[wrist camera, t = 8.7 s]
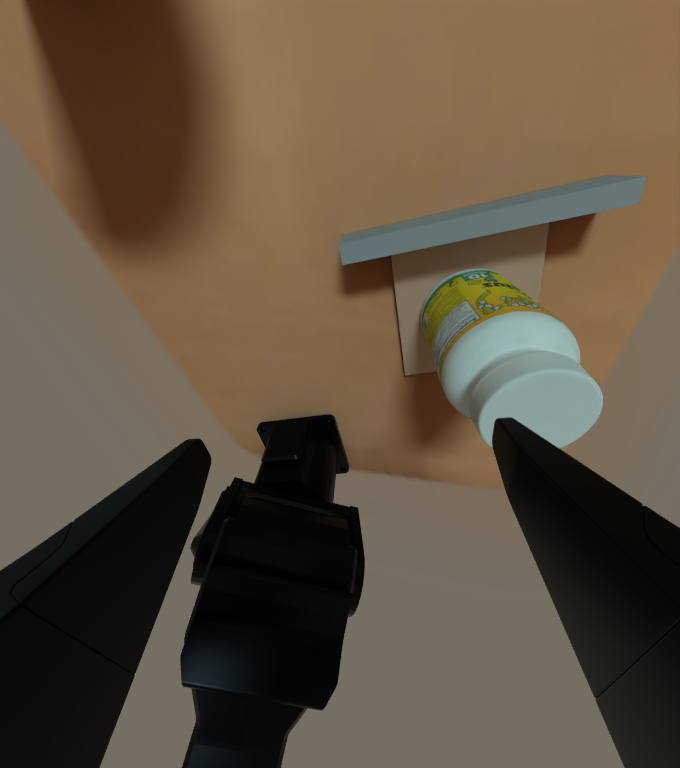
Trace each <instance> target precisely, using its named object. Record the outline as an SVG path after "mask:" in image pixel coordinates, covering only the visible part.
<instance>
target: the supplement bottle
mask: <svg viewBox="0 0 680 768" xmlns="http://www.w3.org/2000/svg"><path fill="white" fill-rule="evenodd" d="M421 327H422V331H423V334H424V337H425V340H426V343H427V346H428V349H429V351H430V354H431V357H432V360H433V363H434V366H435V368H436V371H437V374H438V377H439V380H440V383H441V385H442V388H443V391H444V393H445V395H446V397H447V399H448V401H449V402H450V403H451V405H452V406H453V407H454V408H455V409H456V410H457V411H459V412H460V413H461V414H463V415H464V416H466V417H468V418H470V419H472V420H473V422H474V423H475V426H476V428H477V430H478V432H479V434H480V436H481V437H482V439H483V440H484V441H485V442H486V443H487V444H488V445H489V446H490V447H492V448H493V446H492V435H493V429H494V422H495V420H496V419H497V418H504V417H512V418H514V419H515V420H517V421H518V422H520V423H522V424H523V425H525V426H526V427H528V428H529V429H531V430H532V431H534V432H535V433H537V434H538V435H540V436H541V437H543V438H544V439H546V440H547V441H549V442H550V443H552V444H553V445H555V446H556V447H558V448H562V447H564V446H566V445H568V444H570V443H571V442H573V441H575V440H577V439H578V438H579V437H581V436H582V435H583V434H584V433H586V432H587V431H588V430H589V429H590V428H591V426H592V425H593V424H594V423H595V422H596V420H597V418H598V417H599V415H600V413H601V409H602V405H603V395H602V392H601V390H600V388H599V386H598V384H597V383H596V382H595V381H594V380H593V378H592V377H591V376H590V375H589V374H588V373H587V372H586V371H585V370H584V369H583V368H582V366H581V365H580V351H579V347H578V344H577V341H576V339H575V337H574V336H573V334H572V333H571V331H570V330H569V329H568V328H567V327H566V326H565V325H564V324H563V323H562V322H561V321H560V320H559V319H557V318H556V317H554V316H553V315H552V314H551V313H549V312H548V311H547V310H545V309H544V308H543V307H541V306H540V305H539V304H538V303H536V302H535V301H534V300H533V299H532V298H530V297H529V296H528V295H527V294H525V293H524V292H523V291H522V290H520V289H519V288H518V287H516V286H515V285H514V284H513V283H511V282H510V281H509V280H508V279H507V278H505V277H503V276H502V275H501V274H499V273H497V272H495V271H492V270H488V269H470V270H464V271H460V272H456V273H454V274H452V275H450V276H448V277H446V278H445V279H443V280H442V281H441V282H439V283H438V284H437V285H436V286H435V287H434V288H433V290H432V291H431V292H430V294H429V295H428V297H427V298H426V300H425V303H424V305H423V309H422V313H421Z"/></svg>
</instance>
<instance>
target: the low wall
mask: <svg viewBox="0 0 680 768" xmlns="http://www.w3.org/2000/svg"><path fill="white" fill-rule="evenodd" d="M646 177H647V176H619V175H607V176H603V177H598V178H594V179H589V180H585V181H580V182H576V183H572V184H567V185H563V186H558V187H554V188H549V189H545V190H541V191H536V192H532V193H527V194H523V195H518V196H514V197H510V198H505V199H501V200H496V201H492V202H488V203H483V204H479V205H474V206H470V207H465V208H461V209H457V210H452V211H448V212H443V213H439V214H434V215H430V216H426V217H421V218H417V219H412V220H408V221H403V222H399V223H395V224H390V225H386V226H381V227H377V228H372V229H368V230H364V231H359V232H355V233H350V234H346V235H342V236H341V239H340V241H339V244H338V246H339V251H340V256H341V261H342V265H347V264H352V263H357V262H361V261H366V260H371V259H376V258H381V257H385V256H390V255H395V254H400V253H405V252H409V251H414V250H419V249H424V248H429V247H433V246H438V245H443V244H448V243H453V242H457V241H462V240H467V239H472V238H477V237H481V236H486V235H491V234H496V233H501V232H505V231H510V230H515V229H520V228H525V227H530V226H534V225H539V224H544V223H549V222H554V221H558V220H563V219H568V218H573V217H578V216H582V215H587V214H592V213H597V212H602V211H606V210H611V209H616V208H621V207H626V206H630V205H635V204H639V203H640V199H641V195H642V192H643V188H644V184H645V181H646Z"/></svg>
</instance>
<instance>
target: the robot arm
mask: <svg viewBox="0 0 680 768" xmlns="http://www.w3.org/2000/svg"><path fill="white" fill-rule="evenodd" d="M327 420H330V421H331V422H328V421H327ZM263 428H264V429H263ZM257 431H258V434H259V436H260V438H261V440H262V442H263V444H264V446H265V451H264V454H263V457H262V460H261V461H262V463H261V466H260V469H259V472H258V474H257V477H256V480H255V482H254V483H250V482H246V481H243V479H240V478H236V477H235V478H234V480H233V482H232V484H231V485H230V487H229V486H228V487H227V488H226V490H225V491H223V492H222V493H221V496H220V497H219V500H218V502H217V504H216V506H215V508H214V510H213V512H212V514H211V515H210V517H209V518H208V520H207V521H206V522H205V524H204V525H203V526H202V528H201V529H200V530H199V532H198V533H197V534H196V536H195V537H194V539H193V541H192V544H191V547H190V549H191V551H192V554H193V556H194V563H193V572H192V577H191V583H192V584H195V585H200V586H201V587H200V590H199V593H198V596H197V599H196V602H195V606H194V608H193V611H192V615H191V618H190V621H189V624H188V627H187V630H186V633H185V638H184V647H183V650H182V653H181V659H180V660H181V680H182V685H183V686H184V687H188V688H192V695H193V700H194V707H195V713H196V723H195V726H194V730H193V733H192V736H191V740H190V743H189V747H188V750H187V753H186V756H185V760H184V763H183V766H182V768H281V765H282V759H283V755H284V750H285V746H286V742H287V737H288V734H289V733H290V731H291V730H292V729H293V727H294V726H295V724H296V723H297V722H298V721H299V719H300V718H301V716H302V715H303V714H304V712H305V711H306V709H307V708H310V709H316V710H323V709H324V708H325V706H326V704H327V702H328V701H329V699H330V697H331V695H332V694H333V692H334V690H335V688H336V686H337V683H338V675H339V668H340V660H341V652H342V645H343V639H344V633H345V628H346V624H347V619H348V616H349V617H351V616H352V615H353V614H354V613H355V611H356V608H357V606H358V604H359V600H360V597H361V592H362V587H363V580H364V568H365V565H364V564H365V560H364V549H363V542H362V534H361V527H360V519H359V512H358V508H357V507H353V506H350V507H347V506H343V505H339V504H335V503H333V498H334V488H335V479H336V474H340V473H347V472H348V471H349V464H348V461H347V457H346V454H345V450H344V447H343V444H342V440H341V437H340V433H339V430H338V426H337V423H336V420H335V417H334V416H333V415H319V416H311V417H303V418H294V419H286V420H278V421H270V422H262V423H260V424H259V425H258V427H257ZM492 446H493V450H494V453H495V457H496V460H497V463H498V467H499V470H500V474H501V477H502V480H503V484H504V487H505V490H506V493H507V496H508V499H509V501H510V503H511V506H512V508H513V511H514V513H515V515H516V518H517V520H518V522H519V525H520V527H521V528H522V532H523V534H524V536H525V538H526V541H527V543H528V545H529V548H530V550H531V552H532V555H533V557H534V559H535V561H536V563H537V566H538V568H539V571H540V573H541V575H542V577H543V580H544V582H545V585H546V587H547V589H548V591H549V594H550V596H551V598H552V601H553V603H554V605H555V607H556V610H557V612H558V614H559V617H560V619H561V621H562V624H563V626H564V628H565V631H566V633H567V635H568V638H569V640H570V642H571V644H572V647H573V649H574V651H575V654H576V656H577V658H578V661H579V663H580V665H581V668H582V670H583V672H584V674H585V677H586V679H587V681H588V684H589V686H590V688H591V690H592V693H593V695H594V697H595V698H597V699H596V703H597V705H598V707H599V710H600V712H601V714H602V716H603V719H604V721H605V723H606V726H607V728H608V730H609V733H610V735H611V737H612V740H613V742H614V744H615V747H616V749H617V751H618V753H619V756H620V758H621V760H622V763H623V765H624V767H625V768H680V528H679V527H677V526H676V525H674V524H672V523H671V522H669V521H668V520H666V519H665V518H663V517H662V516H660V515H659V514H657V513H656V512H654V511H653V510H651V509H650V508H648V507H647V506H643V505H642V503H641V502H639V501H638V500H636V499H634V498H633V497H631V496H630V495H628V494H627V493H625V492H624V491H622V490H621V489H619V488H618V487H616V486H615V485H613V484H612V483H610V482H609V481H607V480H606V479H604V478H603V477H601V476H600V475H598V474H597V473H595V472H594V471H592V470H591V469H589V468H588V467H586V466H585V465H583V464H582V463H580V462H579V461H577V460H575V459H574V458H573V457H571V456H570V455H568V454H567V453H565V452H564V451H562V450H561V449H559V448H558V447H556V446H555V445H553V444H552V443H550V442H549V441H547V440H546V439H544V438H543V437H541V436H540V435H538V434H537V433H535V432H534V431H532V430H531V429H529V428H528V427H526V426H525V425H523V424H522V423H520V422H518V421H517V420H515V419H514V418H512V417H504V418H497V419H496V420H495V422H494V429H493V435H492ZM210 465H211V456H210V454H209V452H208V450H207V448H206V446H205V445H204V443H203V441H202V440H201V439H188V440H186V441H184V442H183V443H181V444H180V445H179V446H177V447H176V448H175V449H173V450H172V451H170V452H169V453H167V454H166V455H165V456H163V457H162V458H161V459H159V460H158V461H156V462H155V463H153V464H152V465H151V466H149V467H148V468H147V469H145V470H144V471H142V472H141V473H139V474H138V475H137V476H135V477H134V478H132V479H131V480H130V481H128V482H127V483H125V485H123V486H121V487H120V488H118V489H117V490H116V491H114V492H113V493H111V494H110V495H109V496H107V497H106V498H104V499H103V500H102V501H101V502H99V503H97V504H96V505H95V506H93V507H92V508H90V509H89V510H88V511H86V512H85V513H83V514H82V515H81V516H79V517H78V518H76V519H75V520H74V522H71V523H69V524H68V525H67V526H65V527H64V528H63V529H61V530H60V531H58V532H57V533H55V534H54V535H52V536H51V537H49V538H48V539H47V540H45V541H44V542H42V543H41V544H40V545H38V546H37V547H35V548H34V549H32V550H31V551H29V552H28V553H26V554H25V555H23V556H22V557H20V558H19V559H17V560H15V561H14V562H12V563H11V564H9V565H8V566H7V567H5V568H3V569H2V570H0V768H100V765H101V762H102V760H103V757H104V754H105V752H106V749H107V746H108V744H109V741H110V739H111V736H112V734H113V731H114V728H115V726H116V723H117V720H118V718H119V715H120V713H121V710H122V708H123V705H124V702H125V700H126V697H127V694H128V692H129V689H130V686H131V684H132V681H133V679H134V674H135V673H136V671H137V668H138V665H139V663H140V660H141V657H142V655H143V652H144V650H145V647H146V644H147V641H148V639H149V637H150V634H151V631H152V629H153V626H154V624H155V621H156V618H157V616H158V613H159V611H160V608H161V605H162V603H163V600H164V597H165V595H166V592H167V590H168V587H169V584H170V582H171V579H172V577H173V574H174V571H175V568H176V566H177V564H178V560H179V558H180V555H181V553H182V550H183V548H184V545H185V542H186V540H187V537H188V535H189V532H190V529H191V527H192V524H193V522H194V519H195V517H196V514H197V511H198V508H199V505H200V502H201V498H202V495H203V491H204V488H205V484H206V480H207V477H208V473H209V469H210Z"/></svg>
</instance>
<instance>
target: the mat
mask: <svg viewBox="0 0 680 768" xmlns="http://www.w3.org/2000/svg"><path fill="white" fill-rule="evenodd" d="M549 224H550V223H544V224H539V225H534V226H530V227H525V228H520V229H515V230H510V231H505V232H501V233H496V234H491V235H486V236H481V237H477V238H472V239H467V240H462V241H457V242H453V243H448V244H443V245H438V246H433V247H429V248H424V249H419V250H414V251H409V252H405V253H400V254H395V255H391V262H392V270H393V278H394V287H395V295H396V304H397V312H398V320H399V329H400V337H401V346H402V354H403V362H404V371H405V376H406V375H414V374H421V373H428V372H435V371H436V368H435V366H434V363H433V360H432V357H431V354H430V351H429V349H428V346H427V343H426V340H425V337H424V334H423V331H422V327H421V313H422V309H423V305H424V303H425V300H426V298H427V297H428V295H429V294H430V292H431V291H432V290H433V288H434V287H435V286H436V285H437V284H438V283H439V282H441V281H442V280H443V279H445V278H446V277H448V276H450V275H452V274H454V273H456V272H460V271H464V270H470V269H488V270H492V271H495V272H497V273H499V274H501V275H502V276H503V277H505V278H507V279H508V280H509V281H510V282H511V283H513V284H514V285H515V286H516V287H518V288H519V289H520V290H522V291H523V292H524V293H525V294H527V295H528V296H529V297H530V298H532V299H533V300H534V301H535V302H536V303H539V296H540V288H541V281H542V274H543V267H544V260H545V253H546V246H547V239H548V231H549Z"/></svg>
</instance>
